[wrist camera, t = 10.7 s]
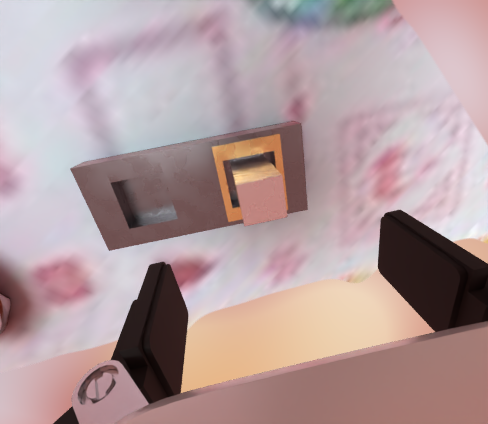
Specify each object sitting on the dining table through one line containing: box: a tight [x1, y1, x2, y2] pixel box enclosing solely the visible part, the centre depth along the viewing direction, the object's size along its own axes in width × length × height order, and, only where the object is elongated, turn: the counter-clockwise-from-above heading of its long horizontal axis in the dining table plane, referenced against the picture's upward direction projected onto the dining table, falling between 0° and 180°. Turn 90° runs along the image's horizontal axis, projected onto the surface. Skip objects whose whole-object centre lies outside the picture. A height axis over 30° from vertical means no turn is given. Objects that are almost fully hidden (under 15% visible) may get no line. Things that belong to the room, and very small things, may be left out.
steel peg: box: [230, 154, 287, 226], centre depth 26 cm, size 4×4×9 cm
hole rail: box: [70, 121, 308, 251], centre depth 29 cm, size 10×24×3 cm, turn 100°
